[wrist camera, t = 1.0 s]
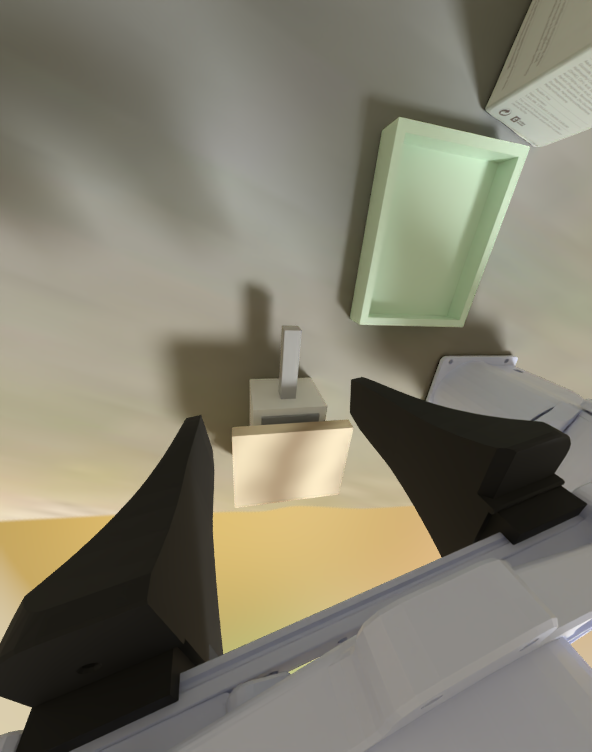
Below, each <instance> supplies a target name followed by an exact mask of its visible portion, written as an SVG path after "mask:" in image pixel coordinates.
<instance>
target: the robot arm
mask: <svg viewBox="0 0 592 752" xmlns="http://www.w3.org/2000/svg"><path fill="white" fill-rule="evenodd" d="M517 360H518V358H517V357H516V356H444V357H442V358H441V360H440V362H439V365H438V368H437V371H436V374H435V376H434V379H433V382H432V385H431V388H430V390H429V393H428V396H427V399H426V401H424V400H421V399H418V398H415V397H412V396H410V395H407V394H404V393H402V392H399V391H397V390H394V389H392V388H389V387H387V386H384V385H382V384H380V383H377V382H375V381H372V380H369V379H367V378H364V377H361V378H356V379H352V380H351V399H350V413H351V415H352V417H353V419H354V421H355V422H356V424H357V426H358V427H359V429H360V430H361V431H362V433H363V434H364V435H365V437H366V438H367V439H368V440H369V442H370V443H371V444H372V445H373V447H374V448H375V449H376V450H377V452H378V453H379V454H380V455H381V457H382V458H383V459H384V460H385V462H386V463H387V464H388V466H389V467H390V468H391V470H392V471H393V473H394V474H395V476H396V478H397V479H398V481H399V482H400V484H401V485H402V487H403V489H404V490H405V492H406V493H407V495H408V497H409V498H410V500H411V502H412V503H413V505H414V507H415V509H416V510H417V512H418V514H419V516H420V517H421V519H422V521H423V523H424V525H425V526H426V528H427V530H428V532H429V534H430V535H431V538H432V539H433V541H434V543H435V545H436V547H437V549H438V551H439V553H440V555H441V557H442V558H440V559H438V560H436V561H433V562H431V563H429V564H427V565H425V566H422V567H420V568H417V569H415V570H413V571H411V572H409V573H406V574H404V575H402V576H399V577H397V578H395V579H393V580H391V581H388V582H386V583H384V584H381V585H379V586H377V587H375V588H372V589H370V590H368V591H365V592H363V593H361V594H359V595H356V596H354V597H352V598H350V599H348V600H345V601H343V602H341V603H338V604H336V605H334V606H332V607H329V608H327V609H325V610H323V611H320V612H318V613H316V614H313V615H311V616H309V617H307V618H305V619H302V620H300V621H298V622H295V623H293V624H291V625H289V626H286V627H284V628H282V629H280V630H277V631H275V632H273V633H271V634H268V635H266V636H264V637H262V638H259V639H257V640H255V641H253V642H250V643H249V644H246V645H243V646H241V647H239V648H237V649H234V650H232V651H230V652H228V653H225V654H223V649H222V638H221V629H220V620H219V609H218V596H217V586H216V573H215V559H214V544H213V520H212V519H213V494H214V460H213V450H212V446H211V443H210V440H209V437H208V434H207V431H206V428H205V425H204V422H203V419H202V416H201V415H199V416H194V417H190V418H186V420H185V421H184V423H183V424H182V426H181V428H180V430H179V432H178V433H177V435H176V437H175V438H174V440H173V442H172V443H171V445H170V447H169V448H168V450H167V451H166V453H165V455H164V456H163V458H162V459H161V460H160V462H159V463H158V465H157V466H156V468H155V469H154V470H153V472H152V473H151V475H150V476H149V477H148V479H147V480H146V481H145V482H144V484H143V485H142V486H141V487H140V489H139V490H138V491H137V492H136V493H135V495H134V496H133V497H132V498H131V499H130V500H129V501H128V502H127V503H126V505H125V506H124V507H123V508H122V509H121V510H120V511H119V512H118V513H117V514H116V515H115V516H114V517H113V518H112V519H111V520H110V521H109V522H108V524H106V525H105V527H104V528H102V529H101V530H100V531H99V532H98V533H97V534H96V535H95V536H94V537H93V538H92V539H91V540H90V541H89V542H88V543H87V544H85V545H84V546H83V547H82V548H81V549H80V550H79V551H78V552H77V553H76V554H74V555H73V556H72V557H71V558H70V559H69V560H68V561H67V562H65V563H64V564H63V565H62V566H61V567H59V568H58V569H57V570H56V571H55V572H53V573H52V574H51V575H50V576H49V577H47V578H46V579H45V580H44V581H43V582H42V583H40V584H39V585H38V586H37V587H36V588H34V589H33V590H32V591H31V592H29V593H28V594H27V595H26V596H25V597H24V599H23V600H22V602H21V604H20V606H19V608H18V609H17V612H16V613H15V615H14V617H13V619H12V621H11V623H10V625H9V627H8V629H7V631H6V633H5V635H4V637H3V639H2V641H1V643H0V696H1V697H3V698H6V699H9V700H12V701H15V702H18V703H21V704H23V705H26V706H29V707H32V709H31V712H30V715H29V717H28V720H27V722H26V725H25V728H24V730H18V731H13V732H8V733H6V734H3V735H0V752H592V668H591V667H590V666H589V665H588V664H587V663H586V662H585V661H584V659H583V658H582V657H581V656H580V655H579V654H578V653H577V651H576V650H575V649H574V648H573V647H572V646H571V645H570V644H571V643H573V642H574V641H576V640H577V639H579V638H580V637H582V636H584V635H585V634H587V633H588V632H590V631H592V399H585V400H584V399H583V398H582V397H581V396H580V395H579V394H577V393H576V392H574V391H572V390H570V389H567V388H565V387H563V386H560V385H558V384H556V383H553V382H551V381H549V380H546V379H544V378H542V377H539V376H537V375H535V374H532V373H530V372H528V371H525V370H523V369H521V368H518V367H516V366H515V364H516V362H517ZM449 361H450V362H449ZM318 657H319V658H318ZM316 658H317V659H316ZM314 659H315V660H314ZM311 660H314V661H312V662H311V663H309V664H307V665H306V666H304V667H303V668H301V669H299V670H297V671H296V672H294V673H293V674H290V673H288V672H289V671H291V670H293V669H295V668H297V667H299V666H301V665H303V664H305V663H307V662H309V661H311Z"/></svg>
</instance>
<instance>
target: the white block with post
mask: <svg viewBox="0 0 592 752" xmlns="http://www.w3.org/2000/svg"><path fill="white" fill-rule="evenodd" d="M301 334H302V330H301V329H300V328H299V327H298V326H282V333H281V352H280V371H279V378H272V379H250V426H257V425H272V424H288V423H303V422H318V421H325V418H326V412H327V405H326V403H325V401H324V399H323V398H322V396H321V394H320V393H319V391H318V389H317V387H316V386H315V384H314V382H313V380H312V379H311V378H298V367H299V356H300V345H301Z"/></svg>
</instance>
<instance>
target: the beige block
mask: <svg viewBox="0 0 592 752" xmlns="http://www.w3.org/2000/svg"><path fill="white" fill-rule="evenodd" d="M352 432H353V426H352V425H351V423H350V422H349V420H334V421H318V422H303V423H288V424H272V425H257V426H241V427H232V452H233V477H234V501H235V508H239V507H246V506H254V505H261V504H269V503H276V502H284V501H291V500H299V499H306V498H314V497H321V496H329V495H336V494H339V491H340V487H341V482H342V478H343V473H344V469H345V464H346V459H347V455H348V450H349V446H350V441H351V437H352Z"/></svg>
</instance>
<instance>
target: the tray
mask: <svg viewBox="0 0 592 752" xmlns="http://www.w3.org/2000/svg"><path fill="white" fill-rule="evenodd" d="M529 149H530V146H525V145H521V144H516V143H512V142H508V141H503V140H499V139H494V138H490V137H486V136H481V135H477V134H473V133H468V132H464V131H459V130H455V129H451V128H446V127H442V126H437V125H433V124H429V123H424V122H420V121H416V120H411V119H407V118H402V117H398V118H397V119H396V120H395V121H393V122H392V123H391V124H390V125H388V126H387V127H386V128H384V129H383V130H382V133H381V139H380V144H379V150H378V156H377V162H376V168H375V174H374V179H373V185H372V191H371V197H370V203H369V208H368V214H367V220H366V226H365V232H364V238H363V243H362V249H361V255H360V261H359V267H358V273H357V278H356V284H355V290H354V296H353V302H352V308H351V313H350V319H351V320H353V321H354V322H356V323H358V324H359V325H390V326H432V327H463V326H464V323H465V320H466V318H467V315H468V312H469V310H470V307H471V304H472V302H473V299H474V296H475V294H476V291H477V288H478V286H479V283H480V280H481V278H482V275H483V272H484V269H485V267H486V264H487V261H488V259H489V256H490V253H491V251H492V248H493V245H494V243H495V240H496V237H497V235H498V232H499V229H500V227H501V224H502V221H503V219H504V216H505V213H506V211H507V208H508V205H509V203H510V200H511V197H512V195H513V192H514V189H515V187H516V184H517V181H518V178H519V176H520V173H521V170H522V168H523V165H524V162H525V160H526V157H527V154H528V152H529Z"/></svg>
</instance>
